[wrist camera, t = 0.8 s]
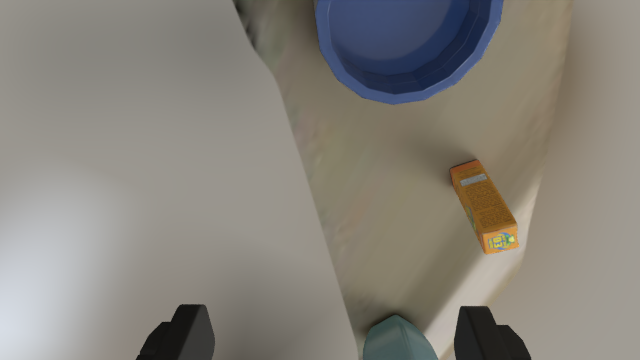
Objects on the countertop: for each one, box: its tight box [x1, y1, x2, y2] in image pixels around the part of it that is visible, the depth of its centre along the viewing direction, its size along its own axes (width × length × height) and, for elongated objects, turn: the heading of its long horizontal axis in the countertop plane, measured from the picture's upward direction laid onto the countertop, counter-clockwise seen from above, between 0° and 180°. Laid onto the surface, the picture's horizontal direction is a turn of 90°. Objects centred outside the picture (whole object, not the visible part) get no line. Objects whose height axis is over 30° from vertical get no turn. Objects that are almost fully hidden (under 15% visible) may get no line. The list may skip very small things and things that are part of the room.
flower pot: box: [363, 315, 438, 360], centre depth 56 cm, size 9×9×9 cm
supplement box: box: [450, 160, 519, 254], centre depth 38 cm, size 3×3×10 cm
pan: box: [313, 0, 503, 105], centre depth 29 cm, size 13×13×4 cm
